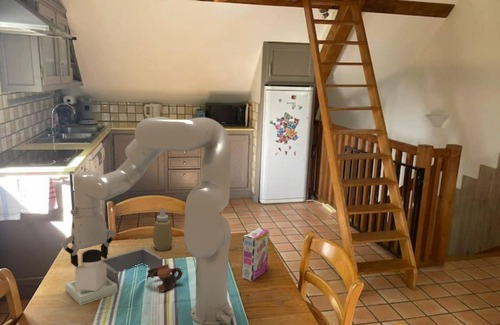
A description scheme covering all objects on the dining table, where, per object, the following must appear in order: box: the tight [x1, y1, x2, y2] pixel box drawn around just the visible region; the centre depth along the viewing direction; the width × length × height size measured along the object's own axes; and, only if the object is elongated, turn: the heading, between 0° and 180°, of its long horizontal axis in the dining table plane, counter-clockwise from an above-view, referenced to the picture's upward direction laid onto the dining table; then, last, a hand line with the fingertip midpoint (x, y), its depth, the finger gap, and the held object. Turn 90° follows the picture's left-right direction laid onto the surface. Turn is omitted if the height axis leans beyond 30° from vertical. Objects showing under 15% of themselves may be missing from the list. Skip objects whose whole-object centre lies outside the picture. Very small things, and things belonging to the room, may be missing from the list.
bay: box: [101, 247, 164, 290], centre depth 143 cm, size 13×18×6 cm
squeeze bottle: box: [152, 207, 174, 252], centre depth 166 cm, size 8×8×18 cm
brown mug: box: [146, 264, 184, 293], centre depth 136 cm, size 12×9×8 cm
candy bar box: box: [241, 227, 270, 282], centre depth 145 cm, size 11×5×16 cm, turn 149°
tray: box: [65, 277, 118, 306], centre depth 130 cm, size 12×12×3 cm
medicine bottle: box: [74, 248, 106, 291], centre depth 128 cm, size 7×7×12 cm
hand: (90, 261), depth 129 cm, fingers open, 9 cm apart
